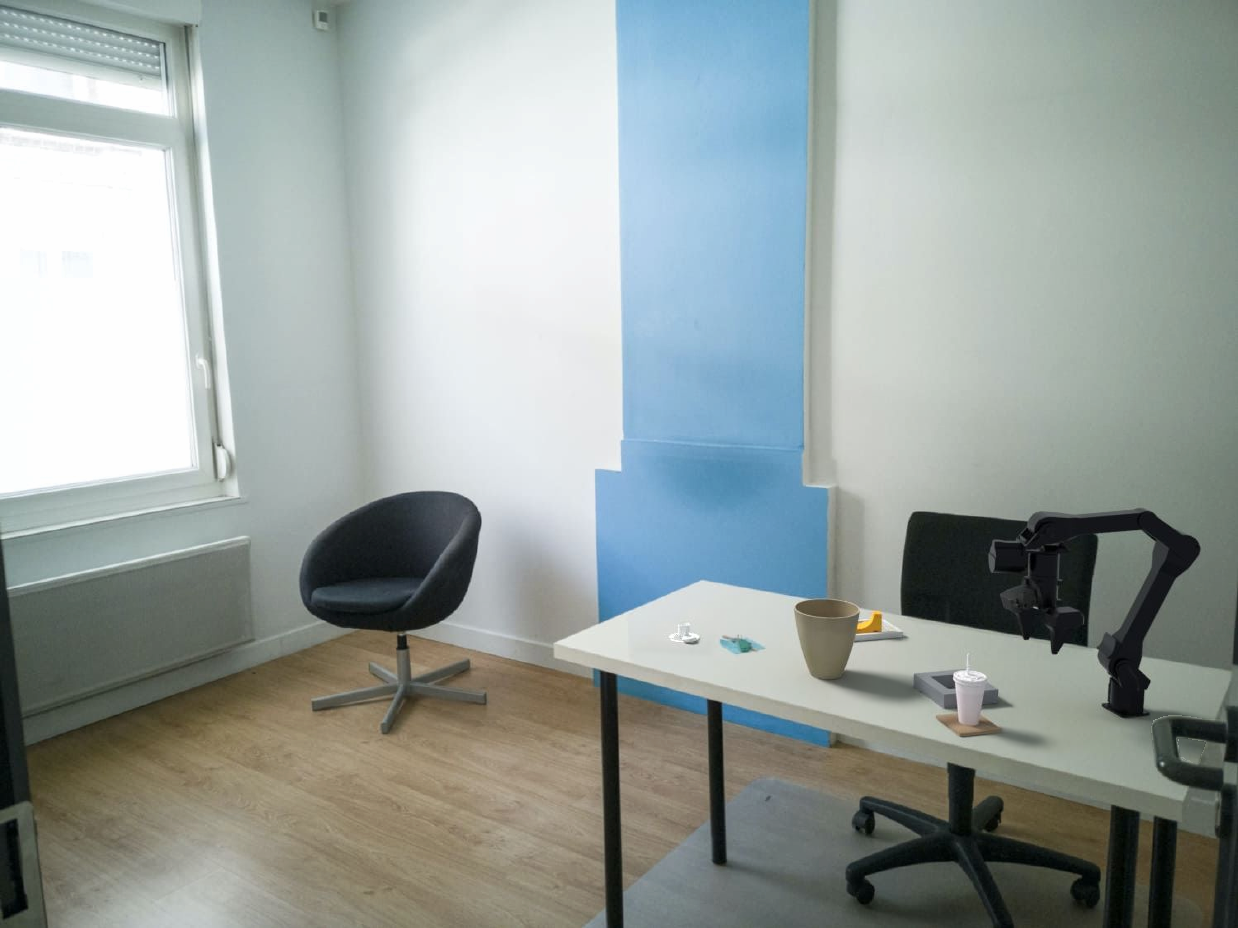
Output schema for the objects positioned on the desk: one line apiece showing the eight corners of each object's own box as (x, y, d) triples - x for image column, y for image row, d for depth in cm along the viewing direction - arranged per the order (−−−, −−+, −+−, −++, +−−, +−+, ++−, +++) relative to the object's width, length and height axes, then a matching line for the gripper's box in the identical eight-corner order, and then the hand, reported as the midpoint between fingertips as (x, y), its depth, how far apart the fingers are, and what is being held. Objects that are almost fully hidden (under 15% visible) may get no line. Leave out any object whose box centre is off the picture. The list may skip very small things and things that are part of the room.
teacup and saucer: (697, 646, 235) (697, 630, 234) (666, 644, 236) (666, 629, 236) (701, 635, 243) (700, 620, 243) (671, 633, 245) (671, 619, 244)
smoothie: (966, 713, 188) (968, 647, 186) (992, 724, 182) (995, 656, 180) (944, 719, 184) (946, 653, 183) (970, 731, 179) (973, 662, 177)
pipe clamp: (878, 633, 242) (878, 609, 241) (881, 638, 237) (881, 614, 237) (832, 632, 243) (832, 608, 242) (834, 637, 239) (834, 613, 238)
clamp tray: (903, 637, 237) (903, 631, 237) (838, 642, 234) (838, 636, 234) (881, 623, 249) (881, 618, 249) (819, 628, 246) (819, 623, 246)
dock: (998, 702, 194) (998, 689, 194) (943, 708, 192) (944, 694, 191) (964, 681, 206) (965, 668, 206) (913, 686, 204) (913, 673, 204)
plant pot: (781, 667, 217) (781, 602, 215) (836, 659, 222) (836, 595, 220) (814, 690, 203) (815, 620, 201) (872, 680, 208) (873, 612, 206)
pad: (1001, 732, 180) (1001, 729, 180) (960, 736, 178) (960, 733, 178) (975, 714, 188) (975, 711, 188) (935, 718, 187) (935, 715, 187)
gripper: (981, 565, 195) (979, 635, 198) (1036, 588, 177) (1033, 665, 179) (1028, 562, 197) (1025, 632, 200) (1087, 584, 179) (1083, 661, 181)
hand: (1039, 646), depth 190 cm, fingers open, 9 cm apart
